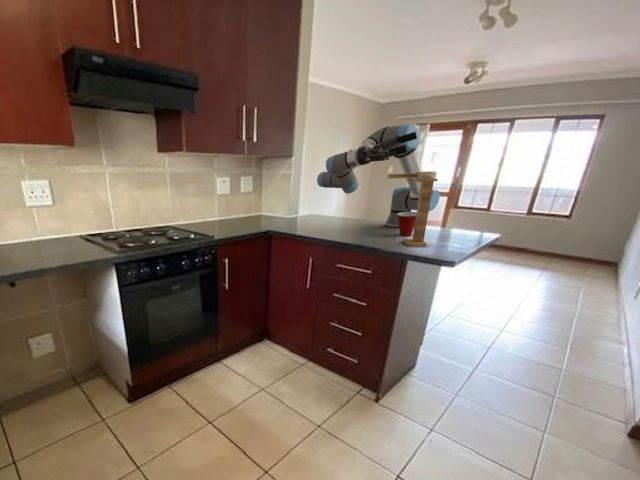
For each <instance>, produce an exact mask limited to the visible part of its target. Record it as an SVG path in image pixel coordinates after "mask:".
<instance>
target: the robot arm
mask: <svg viewBox="0 0 640 480" xmlns="http://www.w3.org/2000/svg"><path fill="white" fill-rule="evenodd" d="M420 137H421V131H420V129H419V127H418V126H417V125H416V124H413V123H404V124H403V123H402V124H400V125H392V126H385V127H381V128H380V129H378V130H376V131H375V132H373V133H371V134H370V135H368V137H366V138H365V139H364V140H363V141H362V143H361V144H360V145H359V146H358V147H357V148H354V149H353V148H350V149H349V150H348V151H345V152H341V153H338V154H334V155H332V156H329V157H327V159H326V160H325V169H326V171H322V172H320V173H319V174H318V175H317V178H316V182H317V185H318V187H320V188H326V189H330V188H331V189H342V191H343V193H344V194H347V195H349V194H352V193H354V192H356V190H357V189H358V188H359V185H360V184H359V181H358V178H357V176H356V174H355V172H354V170H355V169H356V168H358V167H361V166H365V165H369V164H370V163H372V162H383V161H384V162H385V161H388V160H390V158H391V157H394V158H395V159H398V161H399V164H400V166H401V168H402V171H403V174H417V172H424V170H423V167H422V164H421V161H420V158H419V155H418V152H417V149H418V147H419V144H420V141H421V138H420ZM405 179H406V182H407V185H408V186H407V187H398V188H394V189H393V190H392V195H391V202H390V213H389V215H388V216H387V219H386V221H385V227H388V228H395V229H399V218H398V215H397V214H398V213H401V212H412V211H417V207H418V201H419V195H420V188H421V182H416V181H412V179H416V178H405ZM440 196H441V195H440V191H439V190H438V189H434V188H433V189H432V195H431V200H430V206H429V212H432V211H433V210H435V209H436V207H437V206H438V203H439V201H440Z"/></svg>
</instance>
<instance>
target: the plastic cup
mask: <svg viewBox="0 0 640 480" xmlns="http://www.w3.org/2000/svg"><path fill="white" fill-rule="evenodd" d="M416 214H417V211H411V212H401V213H398V214H397V215H398V218H399V228H398V229H399V236H402V237H411V236H412V235H413V233H414V226H415V220H416Z"/></svg>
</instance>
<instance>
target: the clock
mask: <svg viewBox="0 0 640 480" xmlns="http://www.w3.org/2000/svg"><path fill="white" fill-rule="evenodd" d="M437 173H438V171H435V170H434V171H433V170H431V171H430V170H429V171H428V170H427V171H423V172H417V174H404V173H394V174H393V173H391V174H390V173H389V174H388V175H387V179H406V178H416V179H437Z"/></svg>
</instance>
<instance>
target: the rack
mask: <svg viewBox="0 0 640 480" xmlns="http://www.w3.org/2000/svg"><path fill="white" fill-rule="evenodd" d="M438 180H439V179H438V178H436V179H412V181H416V182H421V188H420V195H419V201H418V207H417V210H416V212H417V214H416V220H415V226H414V229H413V232H412V238H403V239H402V243H404V244H405V245H406V246H407V247H427V242H426V241H424V240H425V236H426V235H425V234H426V229H427V224H428V219H429V218H428V217H429V212H430V211H429V206H430V200H431V195H432V189H433V190H434V183H435V182H438Z"/></svg>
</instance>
